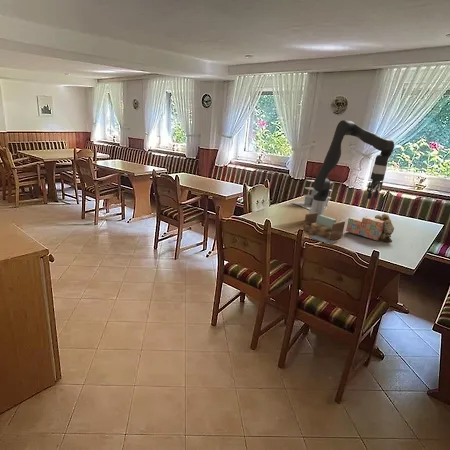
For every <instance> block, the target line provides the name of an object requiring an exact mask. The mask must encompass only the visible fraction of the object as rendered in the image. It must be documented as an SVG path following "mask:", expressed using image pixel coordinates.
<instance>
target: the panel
mask: <svg viewBox="0 0 450 450" xmlns="http://www.w3.org/2000/svg"><path fill="white" fill-rule="evenodd" d="M316 223H318V224H321V225H323V226H326V227H329V228H331V230H330V231H332V226H333V223H337V219H335V218H334V217H333V218H332V217H329V216H326V215H324V214H323V215H319V216H318V222H316Z"/></svg>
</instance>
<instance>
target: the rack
mask: <svg viewBox="0 0 450 450" xmlns="http://www.w3.org/2000/svg"><path fill="white" fill-rule="evenodd" d="M309 213H310V212H309ZM309 213H306V214H305V217H304V223H303V228H302V230H303V231H305V232H307V233H310V234H313V235H319V236H321V237H324V238H327V239H329V240H332V241H335V240H338V239H342V238H343V233H344V228H345V224H346V221H345V220H342V221H336V223H333V226H332V231H331V233H328V232H326V231H323V230H320V229H317V228H314V227H312V226H311V224H312V223H317V222H316V220H317V215H318V213H317V212H316V213H310V214H309Z"/></svg>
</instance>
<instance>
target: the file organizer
mask: <svg viewBox="0 0 450 450" xmlns="http://www.w3.org/2000/svg"><path fill="white" fill-rule="evenodd" d="M306 181H308V182H313V183H314V181H315V179H314V180H313V179H306ZM332 184H334V182H332V181H330V186H331V185H332ZM304 189H305V190H310V192H311V193H310V194H303V197H304V201H292V202H291V204H295V205H297V206H299V207H302V208H304V209H306V210H309V211H310V209H311V208H312V202H313V197H314V195H315V194H317V193H318V191H316V190H314V187H313V186H312V187H311V186H309V187H306V186H305V187H304ZM329 192H333V190H332V189H330V190H329ZM329 195H330V193H329V194H328V197H327V199H326V203H325V207H328V203H329V199H331V200H332V197H331V196H329Z"/></svg>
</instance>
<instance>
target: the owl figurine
mask: <svg viewBox="0 0 450 450" xmlns="http://www.w3.org/2000/svg"><path fill="white" fill-rule="evenodd" d="M374 218H375V219H380V220H382V221H385V222H384V227H383V231H382V235H381V236H380V238H379V240H376V241H377V242H382V243H387V244H388V243H389V244H391V243H393V240H392V239H391V237H392V236H391V235H392V234H393V233H394V231H395V230H394V229H395V227H394V225H393V223H392V219H390V216H389V214H387V213H383V214H381V215H380V214H376V215H374Z"/></svg>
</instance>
